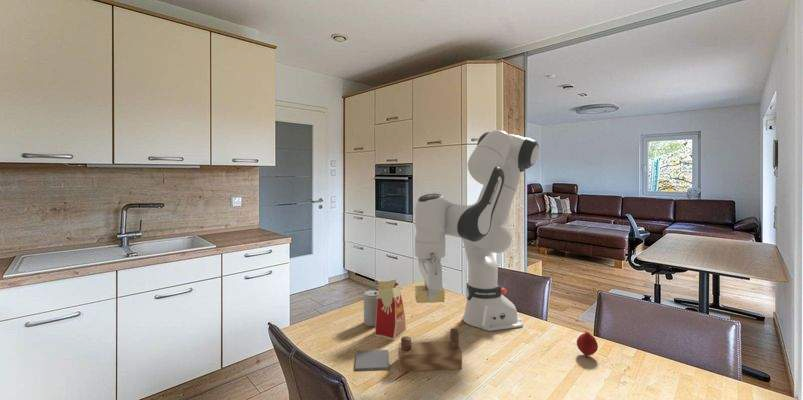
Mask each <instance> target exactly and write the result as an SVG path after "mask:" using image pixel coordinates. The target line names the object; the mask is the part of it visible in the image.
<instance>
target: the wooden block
mask: <svg viewBox="0 0 803 400" xmlns="http://www.w3.org/2000/svg"><path fill="white" fill-rule="evenodd" d="M414 287H415V288H414V296H415V297H414V299H415V302H416V303H417V304H423V303H424V304H425V303H427V304H431V303H432V304H433V303H445V292H446V290H445V288H444V287H443V286H442V290H441V291H436V293H435V300H433V301H430V300H429V299H428V287H427V286H425V285H415V286H414Z"/></svg>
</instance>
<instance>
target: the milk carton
mask: <svg viewBox="0 0 803 400" xmlns="http://www.w3.org/2000/svg"><path fill="white" fill-rule="evenodd" d="M376 282H377V283H378V290H377V291H378V298H377V310H376V326H374V327H375V329H374V331H375V332H374V333H375V334H374V336H375V337H377V338H384V339H386V340H390V341H393V342H394V341H396V340H397V339H398V338H400V337H401V336H402V335H403V334H404V333H405V332H406V331H407V323H406V313H405V308H404V302H403V297H402V291H401V287H400V284H399V283H398V282H397V278H393V279H389V280H378V281H376Z"/></svg>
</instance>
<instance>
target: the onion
mask: <svg viewBox="0 0 803 400" xmlns="http://www.w3.org/2000/svg"><path fill="white" fill-rule="evenodd" d="M576 347H577V349H578V350H579V351H580V352H581V353H582V354H583V356H585V355H588V356H587V357H589V356H592V355H594V354H595V353H596V352H597V351H598V349H599V345H598V342H597V340H596V338H595V337H594V336H593V335H592V334H591V333H590V332H589V331H588V330H585V331H584V333H582V334H580V335H579V336H578V337H577V340H576Z"/></svg>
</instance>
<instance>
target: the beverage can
mask: <svg viewBox="0 0 803 400" xmlns="http://www.w3.org/2000/svg"><path fill="white" fill-rule="evenodd" d="M377 298H378V290H367V291H365V292H364V295H363V323H364V325H365V326H367V327H371V328H373V327H376V310H377Z"/></svg>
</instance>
